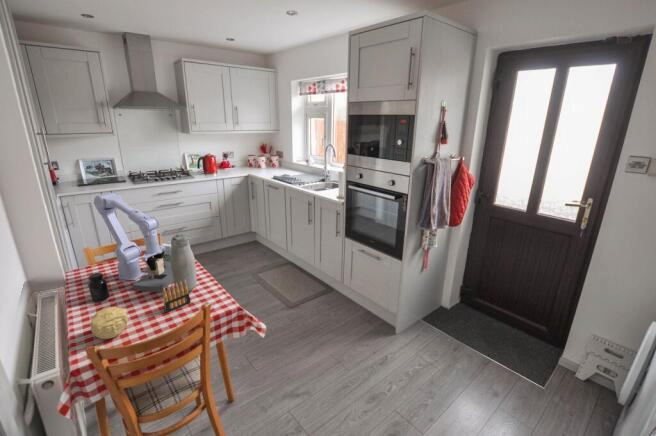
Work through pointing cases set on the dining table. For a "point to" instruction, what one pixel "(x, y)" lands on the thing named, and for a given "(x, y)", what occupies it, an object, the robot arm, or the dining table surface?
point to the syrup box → (167, 255)
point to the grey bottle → (183, 262)
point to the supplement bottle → (98, 287)
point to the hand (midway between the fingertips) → (156, 268)
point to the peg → (159, 267)
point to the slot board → (154, 281)
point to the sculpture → (109, 322)
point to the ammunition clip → (175, 297)
